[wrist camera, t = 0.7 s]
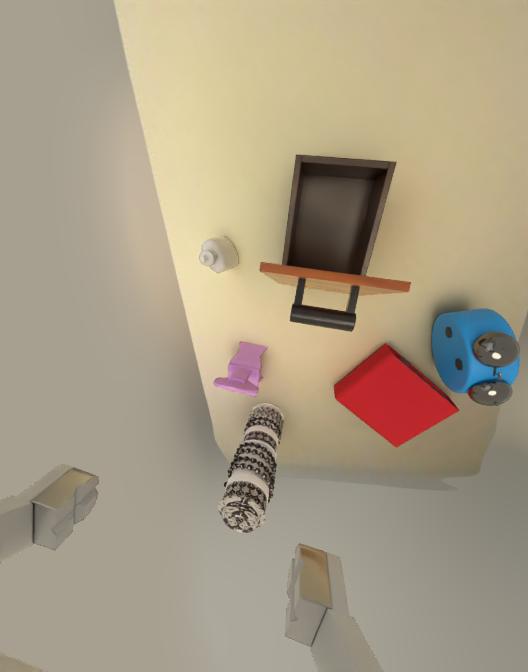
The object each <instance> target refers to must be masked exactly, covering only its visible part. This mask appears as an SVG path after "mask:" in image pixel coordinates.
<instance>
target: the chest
mask: <svg viewBox="0 0 528 672" xmlns="http://www.w3.org/2000/svg"><path fill="white" fill-rule="evenodd" d="M395 166H396V162H389V161H376V160H363V159H349V158H335V157H321V156H308V155H296V160H295V168H294V176H293V183H292V191H291V199H290V207H289V214H288V222H287V230H286V238H285V245H284V253H283V261H282V265H287V266H294V267H301V268H309V269H316V270H324V271H331V272H338V273H346V274H353V275H361V276H366V272H367V269H368V265H369V261H370V258H371V254H372V250H373V247H374V243H375V239H376V236H377V232H378V228H379V225H380V221H381V217H382V214H383V210H384V206H385V203H386V199H387V195H388V192H389V188H390V184H391V181H392V177H393V173H394V169H395Z"/></svg>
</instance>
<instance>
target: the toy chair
mask: <svg viewBox="0 0 528 672" xmlns="http://www.w3.org/2000/svg"><path fill="white" fill-rule="evenodd" d="M266 349H267V347H265V346H260V345H255V344H250V343H245V342H240V351H239V352H238V354H237V355H235V356H234V357H233V358H232V359H231V361H230V363H229V366H228V378H216V379H215V380H214V383H213V384H214V385H215V386H217V387H219V388H223V389H227V390H229V391H234V392H240V393H244V394H248V395H251V396H257V393H258V383H259V382H260V381H261V380H262V379H263V377H262V376H260V369H261V362H260V356H261V354H262V353H263V352H264V351H265V350H266Z"/></svg>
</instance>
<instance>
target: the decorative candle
mask: <svg viewBox="0 0 528 672" xmlns="http://www.w3.org/2000/svg"><path fill="white" fill-rule="evenodd" d="M250 416H251V418H249V419H248V421H249V422H248V423H247V424H246V428H245V430H244V431H245V433H244V437H243V442H242V443H241V444H240V445H239V448H238V449H237V452H236V454H235V455H234V457H235V458H234V459H233V462H231V467H230V469H229V470H228V474H229V475H228V477H229V478H230V479H229V480H228V482H225V483H224V486H225V490H226V492H225V494H224V497H223V499H222V500H221V501H220V503H219V504H218V508H219V512H220V514H221V515H222V518H223V520H224V522H225V524H226V525H227V526H228V527H230V528H231V529H233V530H235V531H238V532H242V533H248V532H251V531H253V530H255V528H257V527H259V526H261V525H262V524H263V523H264V522H265V509H266V504H267V503H269V501H270V498H272V497H273V493H272V491H273V489H274V486H273V485H274V483H275V480H274V479H275V475H274V474H275V472H276V469H275V468H276V466H277V464H276V461H277V455H276V451H277V448H278V444H280V441H279V440H280V439H281V436H280V435H281V433H282V428H283V420H284V416H283V414H282V411H281V410H280V409H279V408H278V407H276V406H274V405H272V404H269V403H261V404H258V405H256V406H255V407H254V408H253V409H252V411H251V414H250ZM235 463H236V464H235ZM234 464H235V465H234ZM232 471H233V473H232Z"/></svg>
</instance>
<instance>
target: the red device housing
mask: <svg viewBox="0 0 528 672" xmlns="http://www.w3.org/2000/svg"><path fill="white" fill-rule="evenodd" d="M334 393H335V398H336V400H337V401H339V402H340V403H341V404H342V405H344V406H345V407H346V408H347V409H349V410H350V411H351V412H352V413H354V414H355V415H356V416H357V417H359V418H360V419H361V420H362V421H364V422H365V423H366V424H367V425H369V426H370V427H371V428H372V429H374V430H375V431H376V432H377V433H379V434H380V435H381V436H382V437H384V438H385V439H386V440H387V441H389V442H390V443H391V444H392V445H394V446H395V447H398V446H400V445H401V444H403V443H405V442H407V441H408V440H410V439H412V438H413V437H415V436H417V435H419V434H420V433H422V432H424V431H425V430H427V429H429V428H430V427H432V426H434V425H436V424H437V423H439V422H441V421H442V420H444V419H446V418H448V417H449V416H451V415H453V414H454V413H456V412H458V411H459V409H458V408H457V407H456V405H455V404H454V403H453V402H452V400H451V399H450V398H449V397H448V396H447V395H446V394H445V393H444V392H443V391H442V390H440V389H439V388H438V387H437V386H436V385H435V384H433V383H432V382H431V381H430V380H429V379H428V378H426V377H425V376H424V375H423V374H422V373H421V372H419V371H418V370H417V369H416V368H415V367H414V366H412V365H411V364H410V363H409V362H408V361H406V360H405V359H404V358H403V357H402V356H401V355H399V354H398V353H397V352H396V351H395V350H394V349H392V348H391V347H390V346H389V345H388V344H385V345H384V346H383V347H381V348H380V349H379V350H378V351H377V352H375V353H374V354H373V355H372V356H370V357H369V358H368V359H367V360H366V361H364V362H363V363H362V364H361V365H359V366H358V367H357V368H356V369H355V370H353V371H352V372H351V373H350V374H349V375H347V376H346V377H345V378H344V379H342V380H341V381H340V382H339V383H338V384H336V385H335V386H334Z"/></svg>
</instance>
